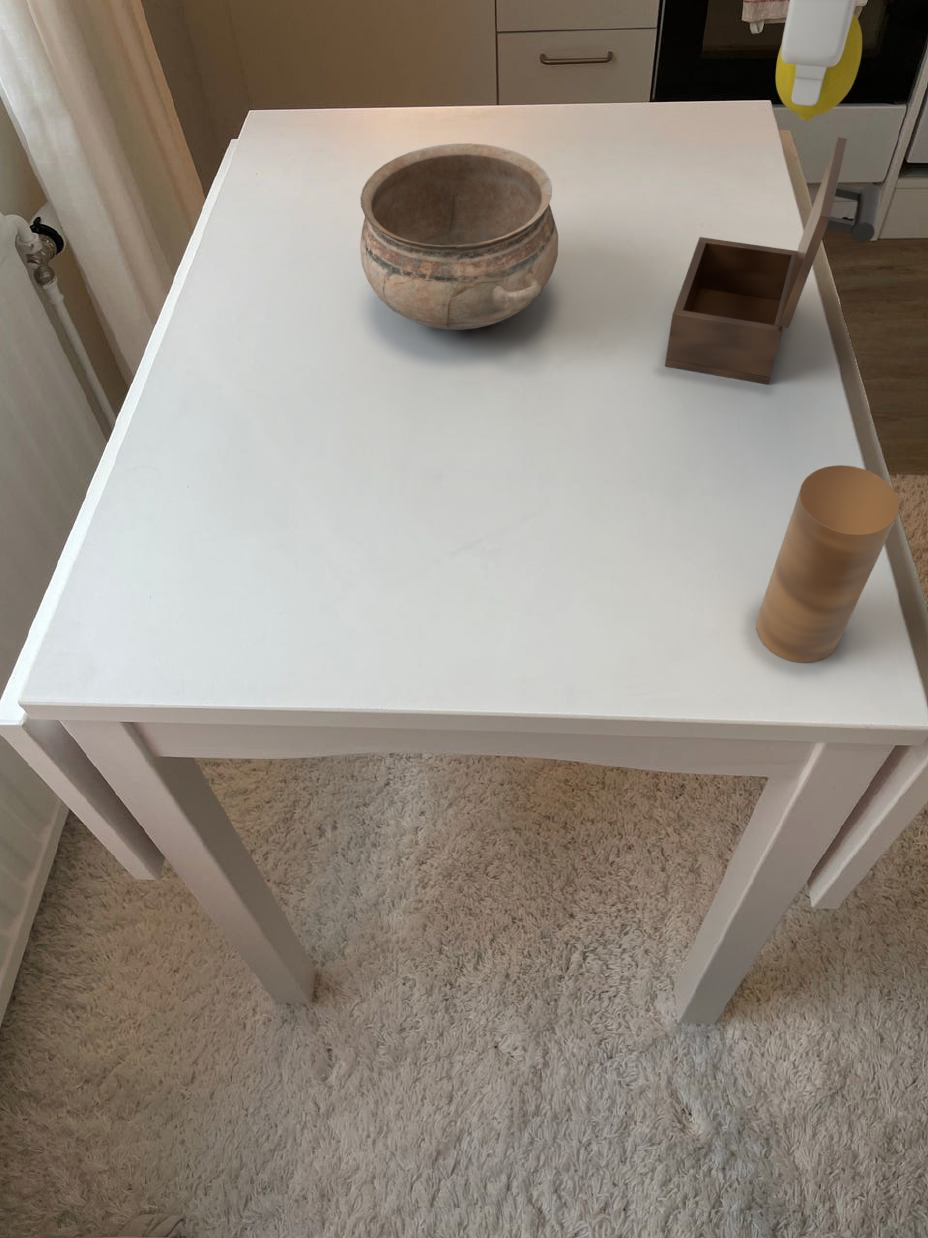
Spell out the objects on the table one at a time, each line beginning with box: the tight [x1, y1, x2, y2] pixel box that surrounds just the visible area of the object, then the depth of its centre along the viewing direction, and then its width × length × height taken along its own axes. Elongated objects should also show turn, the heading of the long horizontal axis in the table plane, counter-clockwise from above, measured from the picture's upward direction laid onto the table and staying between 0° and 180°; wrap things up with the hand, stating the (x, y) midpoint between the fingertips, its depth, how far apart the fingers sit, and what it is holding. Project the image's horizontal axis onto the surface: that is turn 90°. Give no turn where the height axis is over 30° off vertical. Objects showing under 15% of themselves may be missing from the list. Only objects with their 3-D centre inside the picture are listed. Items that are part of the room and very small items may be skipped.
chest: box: [664, 236, 798, 385], centre depth 90 cm, size 10×13×6 cm
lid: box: [779, 136, 882, 329], centre depth 81 cm, size 10×13×5 cm
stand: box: [755, 464, 900, 664], centre depth 65 cm, size 6×6×14 cm
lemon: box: [775, 13, 863, 122], centre depth 67 cm, size 6×6×8 cm
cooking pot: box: [359, 143, 559, 331], centre depth 92 cm, size 25×19×12 cm
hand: (811, 77), depth 67 cm, fingers closed on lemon, 5 cm apart
